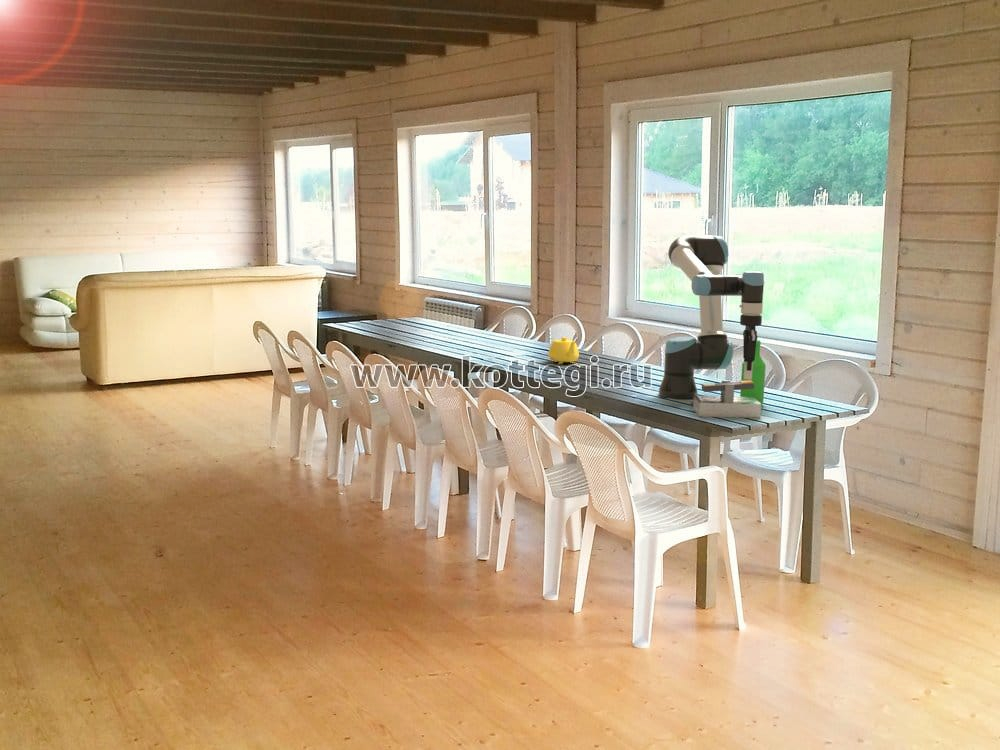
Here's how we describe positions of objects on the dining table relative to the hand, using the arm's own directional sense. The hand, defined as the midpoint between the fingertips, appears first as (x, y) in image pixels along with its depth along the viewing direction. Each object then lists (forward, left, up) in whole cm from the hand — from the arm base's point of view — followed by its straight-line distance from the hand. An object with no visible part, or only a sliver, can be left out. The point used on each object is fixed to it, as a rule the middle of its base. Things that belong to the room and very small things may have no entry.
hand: (747, 378), depth 368 cm
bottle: (-18, +6, -13) cm, 23 cm away
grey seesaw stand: (0, -7, -13) cm, 15 cm away
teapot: (-111, -63, -13) cm, 129 cm away
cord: (-13, -10, -13) cm, 21 cm away
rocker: (0, -7, -3) cm, 8 cm away
